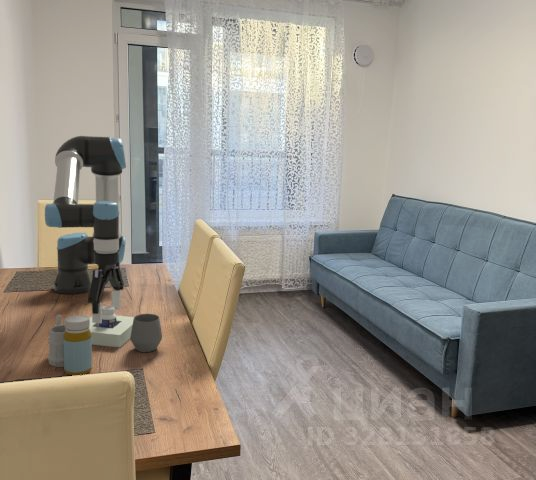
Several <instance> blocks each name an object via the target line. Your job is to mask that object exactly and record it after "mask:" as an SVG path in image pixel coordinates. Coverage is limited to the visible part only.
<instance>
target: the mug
mask: <svg viewBox="0 0 536 480" xmlns="http://www.w3.org/2000/svg"><path fill="white" fill-rule="evenodd" d="M62 323H63V322H62V315H61V314H60V313H59V314H56V323H55V324H56V325H54V326H52V327H50V328H49V330H48V332H49V337H48V340H47V342H48V347H49V350H48V354H47V360H48V363H49V365H50V366H53V367H56V368H59V367H60V368H62V367H63V368H64V333H65V324H62Z"/></svg>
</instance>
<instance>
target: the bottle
mask: <svg viewBox="0 0 536 480" xmlns="http://www.w3.org/2000/svg"><path fill="white" fill-rule="evenodd" d="M64 325H65V333H64V366H63V368H64V369H63V371H64V373H65V374H67V375H68V376H71V375H80V374H84V375H86V374H88V373H90V371H92V369H93V362H92V361H93V356H92V355H93V353H92V350H93V348H92V346H93V344H92V336H91V332H90V329H89V325H90V316H89V315H86V314H74V315H70V316H67V317H65V319H64ZM80 376H81V375H80Z"/></svg>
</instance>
